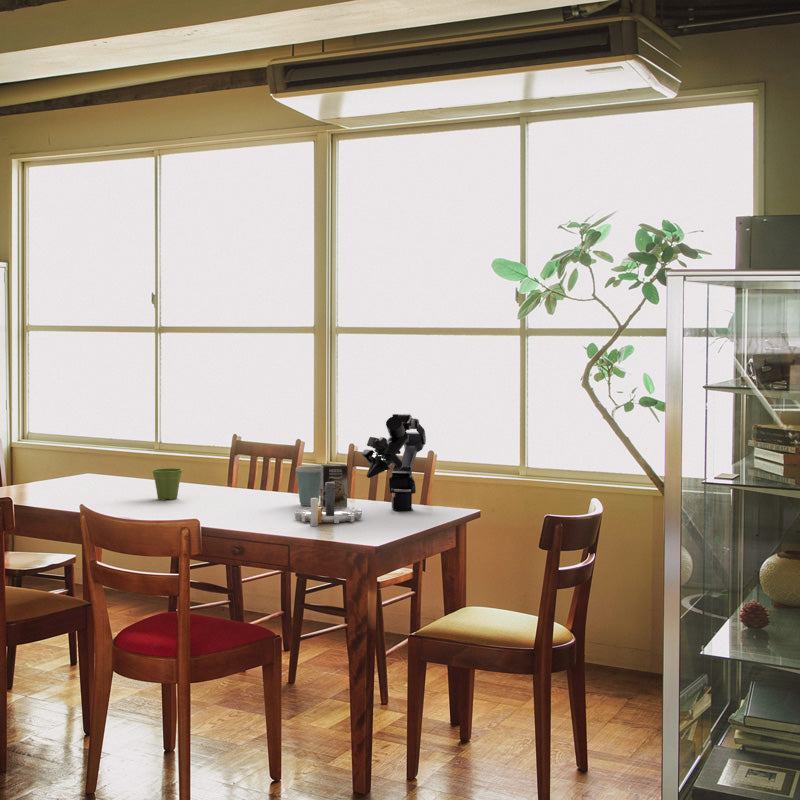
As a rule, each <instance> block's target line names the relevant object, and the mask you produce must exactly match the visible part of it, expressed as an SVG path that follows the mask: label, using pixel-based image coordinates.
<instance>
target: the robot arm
mask: <svg viewBox="0 0 800 800" xmlns="http://www.w3.org/2000/svg"><path fill="white" fill-rule="evenodd" d="M419 420H420V419H418V418H416V417H415V418H413V417H412V415H411V413H393V414H392V416H390V417H389V418H388V419H387V420H386V421H385V426H386V429H387V432H388V435H389V437H388V439H387V438H386V437H383V436H382V437H381V436H380V437H373V436H369V437H368V441H367V443H366V447H367V446H368V447H370V448H372V449H367V448H366V449H363V451H362V452H361V455H362V456H363V457H364V459H366V461H367V462H368V463H369V464H370V465H369V467H368V471H367V472H366V478H368V479H370V478H373V477H375V476H376V475H379V474H381V473H383V472H386V471H388V470H390V469H391V468H390V466H391V465H392V464H393V465H394V467H393V469H392V472H391V476H389V479H388V484H389V494H392V496H391V509H392V510H394V511H396V512H399V511H401V512H403V511H404V512H405V511H414V508H413V507H412V506H413V505H412V504H413V497H412V495H413V494H416V493H417V489H416V481H415V479H414V477H413V472H412V471H413V467H414V463H415V460H416V456H417V454H418V453H419V452H420V451H422V450H423V449H424V447H425V445H426V442H427V437H426V431H425V428H423V426H422V425H421V424H420V421H419ZM410 430H416V432H414V431H413V432H412V431H411V432H410ZM403 446H404V447H403ZM402 448H404V451H403V454H402V457H401V458H400V457H399V456H398V455H400V454H401V453H402V452H401V449H402ZM373 449H374V450H373Z"/></svg>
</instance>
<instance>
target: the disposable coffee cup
mask: <svg viewBox="0 0 800 800" xmlns="http://www.w3.org/2000/svg"><path fill="white" fill-rule="evenodd" d="M321 465H322V464H315V465H313V464H312V465H311V464H308V465H299V466H297V467H295V475H296V482H297V490H298V496H299V503H300V506H303V505H311V498H318V503H319V502H320V493H321Z"/></svg>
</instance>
